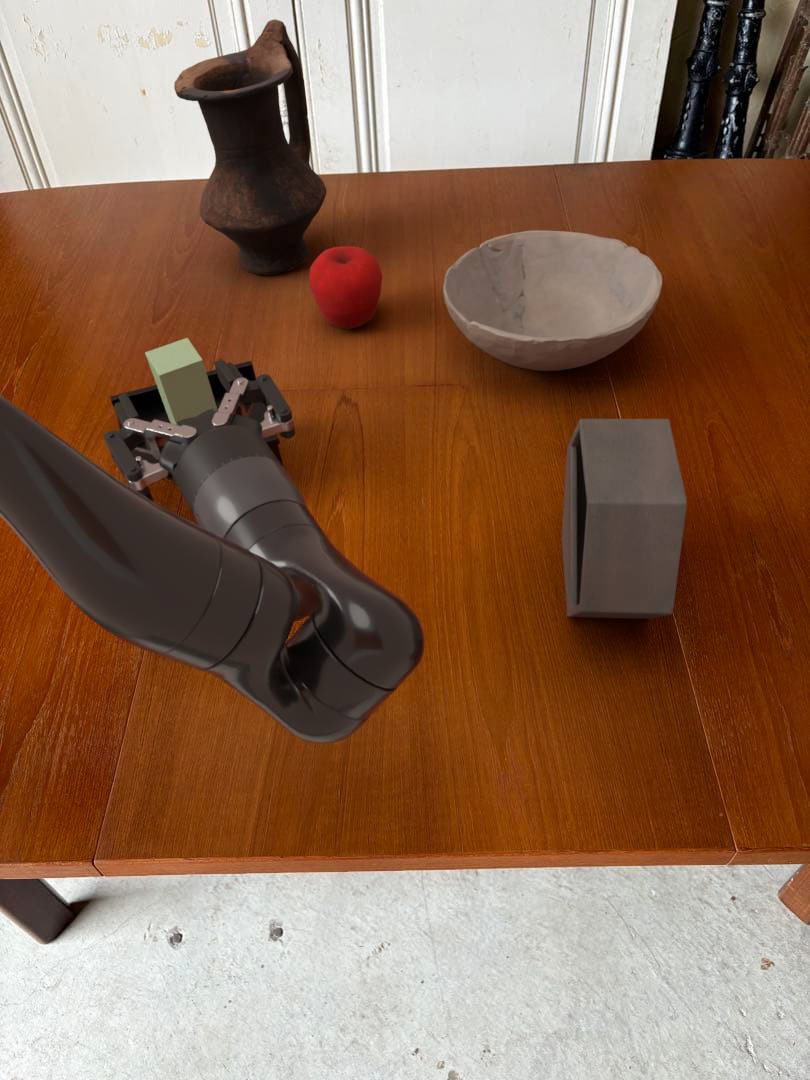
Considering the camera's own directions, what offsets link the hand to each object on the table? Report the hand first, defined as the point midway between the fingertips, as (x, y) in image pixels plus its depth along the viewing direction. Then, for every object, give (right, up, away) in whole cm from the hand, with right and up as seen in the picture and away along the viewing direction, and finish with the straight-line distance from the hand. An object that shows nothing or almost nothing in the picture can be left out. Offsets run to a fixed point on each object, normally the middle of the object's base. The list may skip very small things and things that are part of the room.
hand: (173, 385), depth 70 cm
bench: (-3, -6, +25) cm, 26 cm away
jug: (0, +31, +57) cm, 65 cm away
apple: (+12, +17, +44) cm, 49 cm away
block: (-3, -1, +19) cm, 19 cm away
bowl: (+38, +12, +38) cm, 55 cm away
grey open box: (+40, -18, +11) cm, 45 cm away
